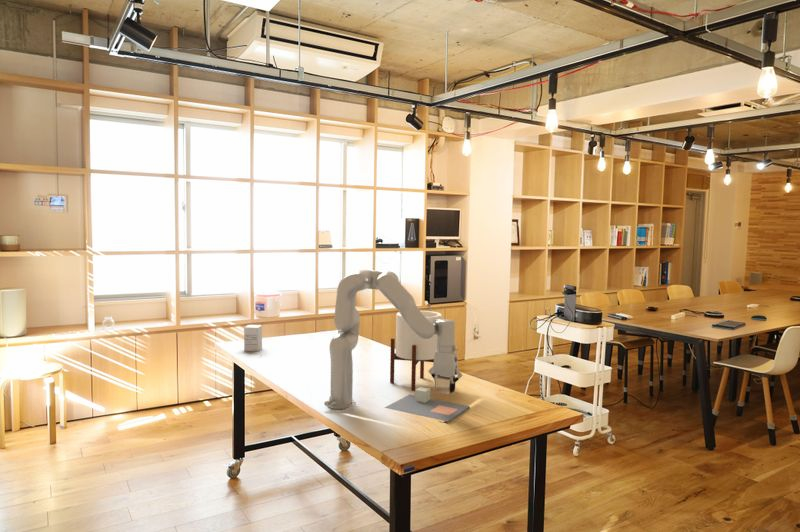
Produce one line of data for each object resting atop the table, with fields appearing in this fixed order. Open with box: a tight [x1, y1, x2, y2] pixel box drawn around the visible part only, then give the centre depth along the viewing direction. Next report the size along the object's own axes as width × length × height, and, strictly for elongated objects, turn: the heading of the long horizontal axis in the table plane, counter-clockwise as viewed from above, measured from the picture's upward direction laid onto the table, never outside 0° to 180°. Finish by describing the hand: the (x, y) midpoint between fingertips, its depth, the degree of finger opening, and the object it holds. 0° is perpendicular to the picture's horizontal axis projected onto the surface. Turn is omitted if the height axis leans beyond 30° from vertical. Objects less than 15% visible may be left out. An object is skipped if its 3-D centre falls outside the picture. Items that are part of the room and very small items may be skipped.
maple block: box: [435, 376, 451, 395], centre depth 230 cm, size 6×6×6 cm
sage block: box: [414, 386, 431, 403], centre depth 244 cm, size 5×5×5 cm
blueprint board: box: [384, 394, 471, 424], centre depth 235 cm, size 22×30×1 cm
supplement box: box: [243, 324, 263, 352], centre depth 342 cm, size 9×9×15 cm
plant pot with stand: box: [389, 309, 443, 392], centre depth 270 cm, size 22×22×36 cm
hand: (445, 390), depth 231 cm, fingers closed on maple block, 6 cm apart
